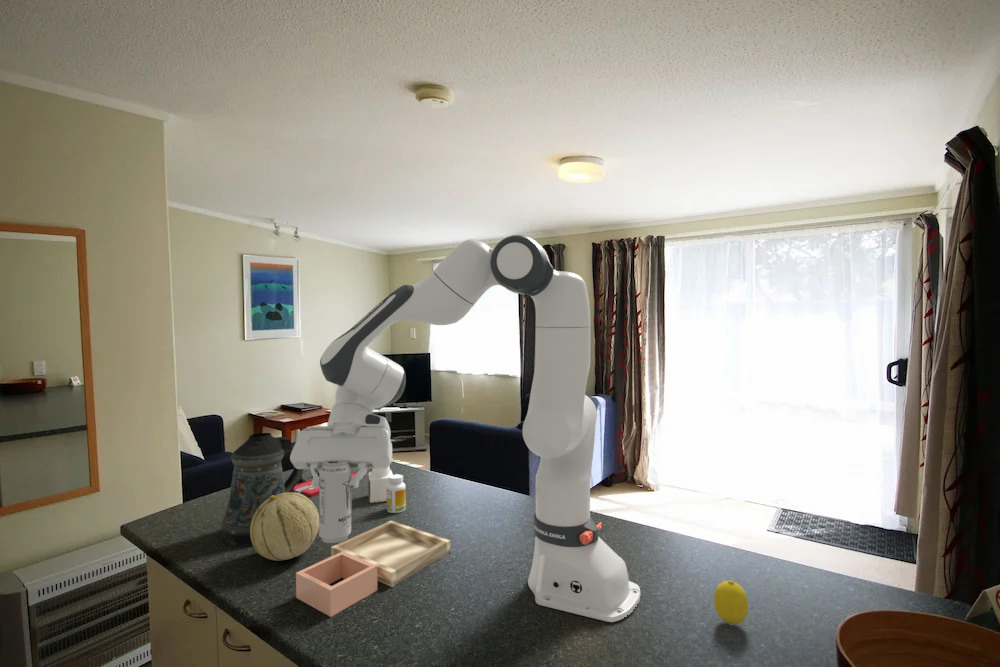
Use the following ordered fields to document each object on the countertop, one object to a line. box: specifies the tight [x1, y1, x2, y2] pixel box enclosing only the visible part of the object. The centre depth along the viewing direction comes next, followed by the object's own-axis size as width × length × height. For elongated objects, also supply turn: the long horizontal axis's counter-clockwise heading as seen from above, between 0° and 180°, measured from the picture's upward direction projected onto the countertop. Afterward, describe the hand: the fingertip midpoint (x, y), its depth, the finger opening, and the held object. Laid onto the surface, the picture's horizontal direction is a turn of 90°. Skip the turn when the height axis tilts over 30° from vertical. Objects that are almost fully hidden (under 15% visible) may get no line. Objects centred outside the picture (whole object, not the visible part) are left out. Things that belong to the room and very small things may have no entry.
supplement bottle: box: [386, 473, 407, 514], centre depth 144 cm, size 5×5×10 cm
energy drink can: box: [318, 460, 352, 544], centre depth 100 cm, size 6×6×15 cm
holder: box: [295, 551, 378, 618], centre depth 100 cm, size 11×11×5 cm
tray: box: [330, 520, 451, 588], centre depth 116 cm, size 20×18×3 cm
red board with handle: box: [291, 471, 366, 498], centre depth 165 cm, size 30×3×15 cm
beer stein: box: [220, 432, 305, 546], centre depth 131 cm, size 16×19×25 cm
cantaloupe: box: [250, 492, 319, 562], centre depth 116 cm, size 15×15×15 cm
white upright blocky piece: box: [367, 463, 394, 504], centre depth 153 cm, size 7×7×12 cm
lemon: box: [713, 579, 749, 626], centre depth 90 cm, size 6×6×8 cm
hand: (334, 486), depth 99 cm, fingers closed on energy drink can, 6 cm apart
